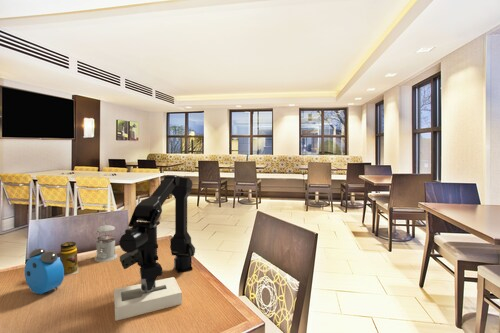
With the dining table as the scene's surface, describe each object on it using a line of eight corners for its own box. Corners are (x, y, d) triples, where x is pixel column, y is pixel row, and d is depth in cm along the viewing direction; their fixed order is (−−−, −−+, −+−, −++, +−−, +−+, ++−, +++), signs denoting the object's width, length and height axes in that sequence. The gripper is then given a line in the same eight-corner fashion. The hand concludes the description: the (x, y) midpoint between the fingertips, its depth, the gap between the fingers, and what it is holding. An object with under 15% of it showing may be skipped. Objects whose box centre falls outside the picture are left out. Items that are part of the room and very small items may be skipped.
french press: (101, 263, 120) (100, 208, 118) (87, 257, 126) (86, 205, 125) (122, 256, 129) (121, 204, 127) (108, 251, 135) (107, 201, 133)
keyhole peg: (154, 295, 94) (154, 270, 94) (156, 302, 90) (156, 276, 90) (140, 298, 92) (140, 273, 92) (142, 305, 88) (141, 279, 88)
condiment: (78, 273, 111) (78, 244, 111) (53, 278, 107) (52, 248, 106) (78, 266, 117) (77, 239, 117) (54, 271, 113) (53, 242, 112)
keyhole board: (174, 287, 101) (174, 276, 101) (181, 303, 91) (181, 292, 90) (114, 300, 92) (114, 289, 92) (115, 320, 81) (114, 308, 81)
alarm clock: (65, 290, 98) (64, 250, 97) (46, 299, 92) (45, 256, 91) (42, 283, 103) (41, 244, 102) (24, 290, 97) (22, 250, 96)
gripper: (119, 236, 94) (121, 279, 96) (122, 255, 78) (123, 307, 79) (153, 231, 100) (154, 272, 101) (162, 249, 83) (163, 298, 84)
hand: (148, 286), depth 91 cm, fingers closed on keyhole peg, 5 cm apart
